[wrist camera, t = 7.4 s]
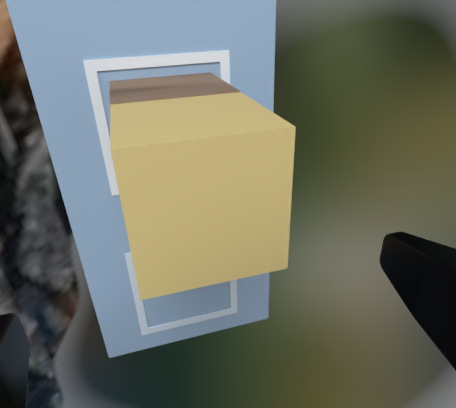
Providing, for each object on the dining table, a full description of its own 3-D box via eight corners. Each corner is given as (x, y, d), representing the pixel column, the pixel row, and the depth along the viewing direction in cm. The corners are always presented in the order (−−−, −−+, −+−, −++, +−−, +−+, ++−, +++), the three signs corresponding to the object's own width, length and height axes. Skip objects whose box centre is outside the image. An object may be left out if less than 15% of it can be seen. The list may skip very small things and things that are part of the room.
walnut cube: (215, 163, 21) (242, 202, 17) (127, 175, 20) (132, 221, 16) (210, 72, 19) (240, 91, 14) (109, 80, 17) (109, 104, 13)
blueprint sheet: (266, 314, 29) (268, 319, 28) (108, 353, 26) (109, 359, 26) (273, -9, 18) (276, -9, 18) (7, 0, 15) (5, 0, 15)
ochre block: (242, 202, 17) (287, 268, 13) (132, 221, 16) (140, 300, 11) (240, 92, 14) (295, 126, 10) (110, 104, 13) (110, 149, 9)
